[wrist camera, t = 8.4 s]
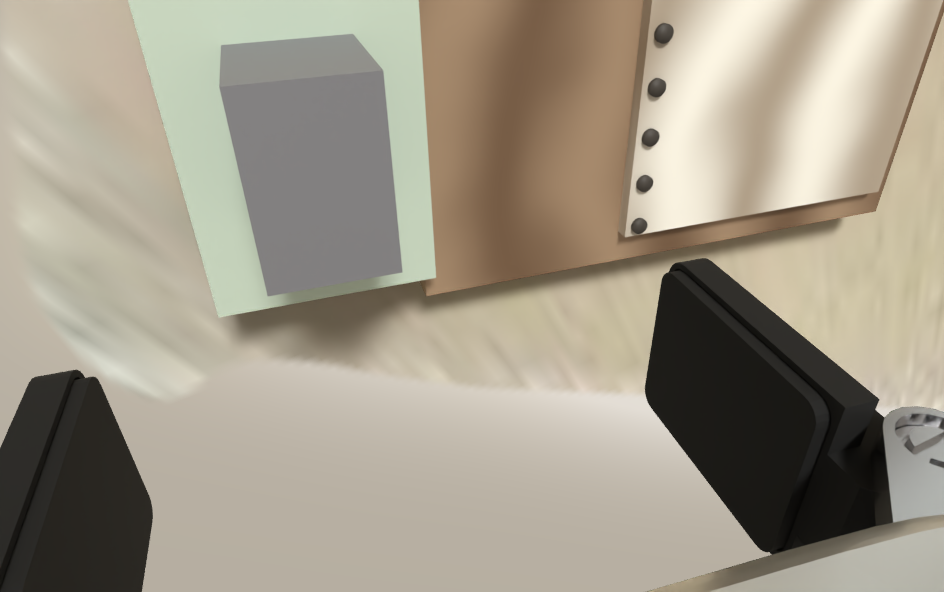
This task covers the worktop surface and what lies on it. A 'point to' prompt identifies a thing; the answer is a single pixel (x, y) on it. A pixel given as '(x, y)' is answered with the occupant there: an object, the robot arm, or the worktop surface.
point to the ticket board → (655, 123)
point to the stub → (295, 142)
